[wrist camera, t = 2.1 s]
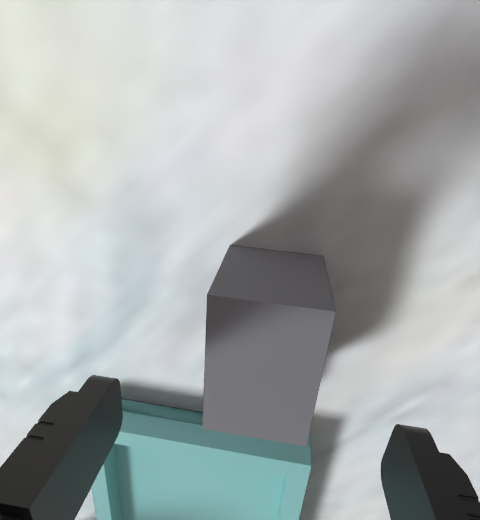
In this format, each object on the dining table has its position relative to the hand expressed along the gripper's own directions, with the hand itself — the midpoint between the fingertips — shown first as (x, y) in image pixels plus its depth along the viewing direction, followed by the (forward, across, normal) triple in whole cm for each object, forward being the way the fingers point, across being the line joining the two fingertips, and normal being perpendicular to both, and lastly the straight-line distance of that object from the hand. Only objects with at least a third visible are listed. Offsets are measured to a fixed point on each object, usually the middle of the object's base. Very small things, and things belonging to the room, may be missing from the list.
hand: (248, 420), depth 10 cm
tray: (+6, +3, +14) cm, 16 cm away
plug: (+6, 0, 0) cm, 7 cm away
